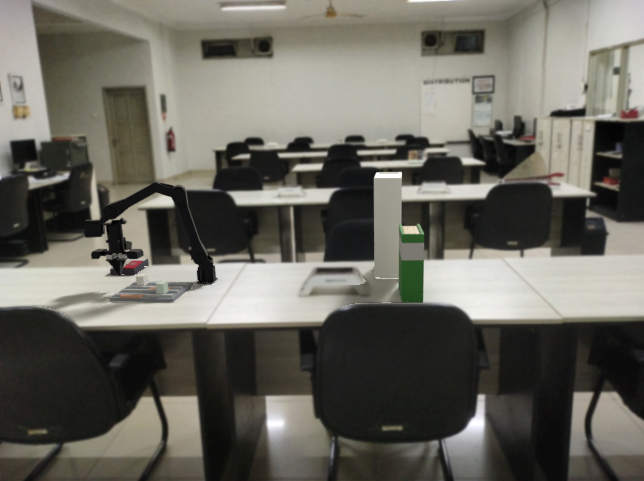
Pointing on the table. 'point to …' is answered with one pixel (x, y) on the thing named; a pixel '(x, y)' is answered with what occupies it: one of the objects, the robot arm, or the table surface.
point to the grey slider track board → (151, 292)
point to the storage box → (387, 223)
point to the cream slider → (142, 279)
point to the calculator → (132, 266)
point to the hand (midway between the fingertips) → (119, 275)
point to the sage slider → (162, 287)
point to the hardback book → (411, 263)
